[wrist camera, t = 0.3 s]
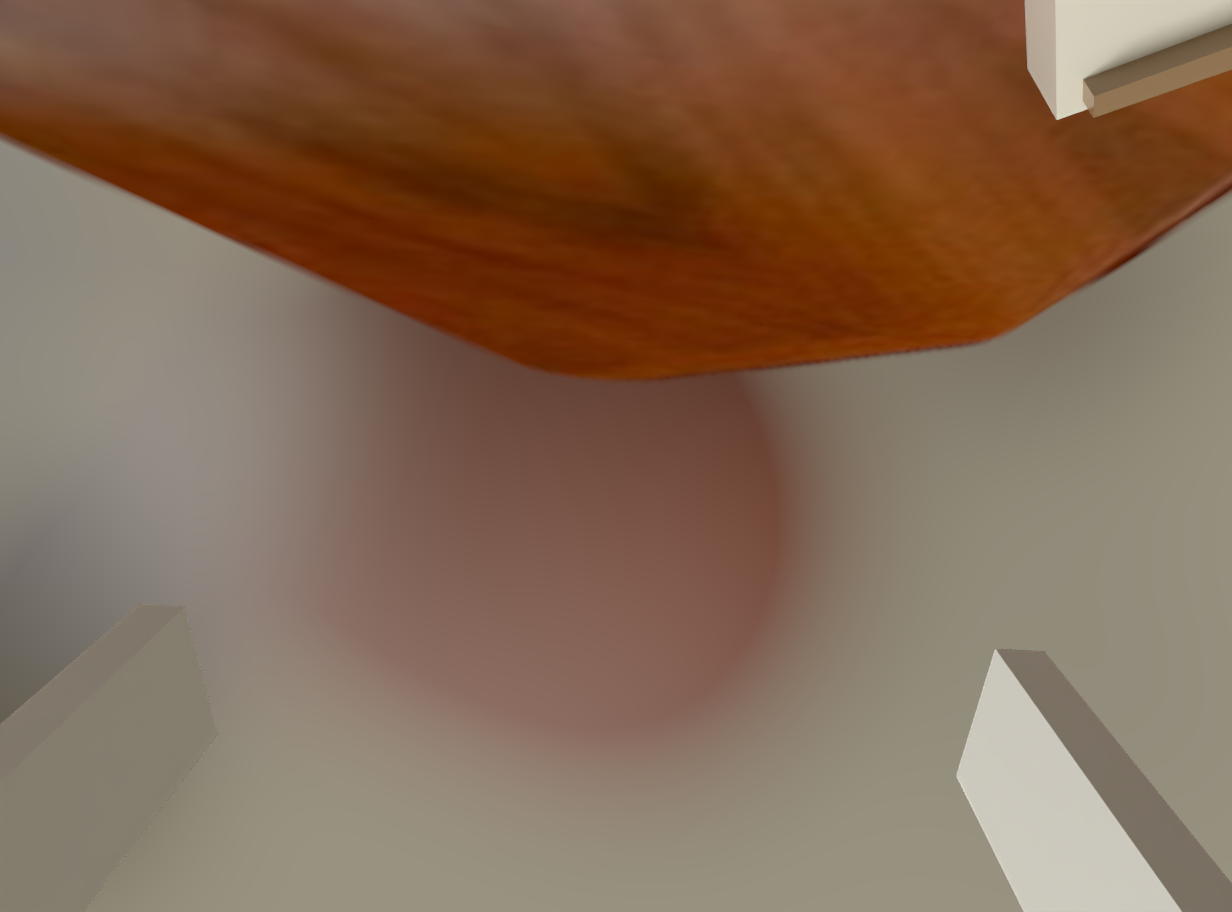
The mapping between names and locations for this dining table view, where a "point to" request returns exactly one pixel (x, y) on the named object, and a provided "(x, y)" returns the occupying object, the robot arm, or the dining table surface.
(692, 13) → the dining table surface
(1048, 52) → the plinth
